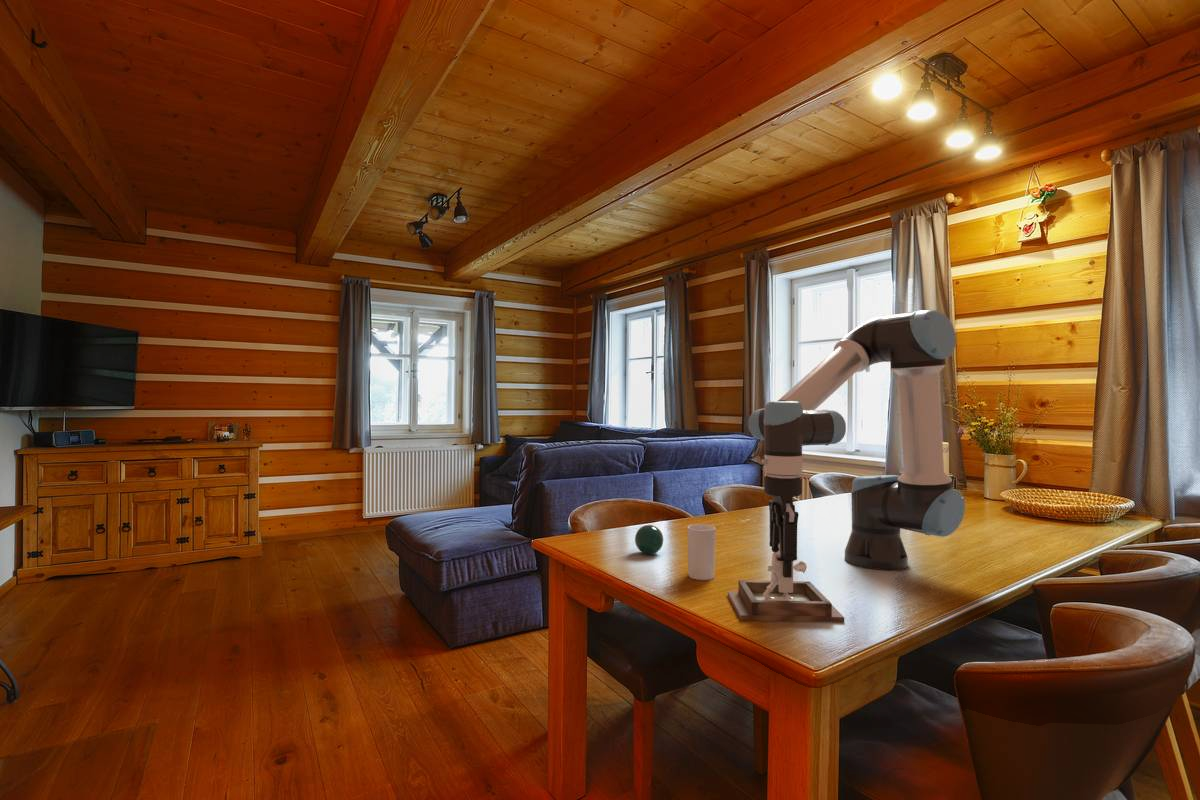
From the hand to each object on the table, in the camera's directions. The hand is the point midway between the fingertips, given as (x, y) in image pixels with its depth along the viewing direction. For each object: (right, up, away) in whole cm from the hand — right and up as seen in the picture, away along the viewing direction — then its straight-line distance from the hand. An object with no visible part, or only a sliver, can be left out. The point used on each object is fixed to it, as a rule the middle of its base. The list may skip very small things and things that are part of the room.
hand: (782, 587), depth 118 cm
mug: (-13, -4, +23) cm, 26 cm away
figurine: (0, -3, 0) cm, 3 cm away
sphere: (-24, -4, +41) cm, 48 cm away
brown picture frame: (0, -4, 0) cm, 4 cm away
